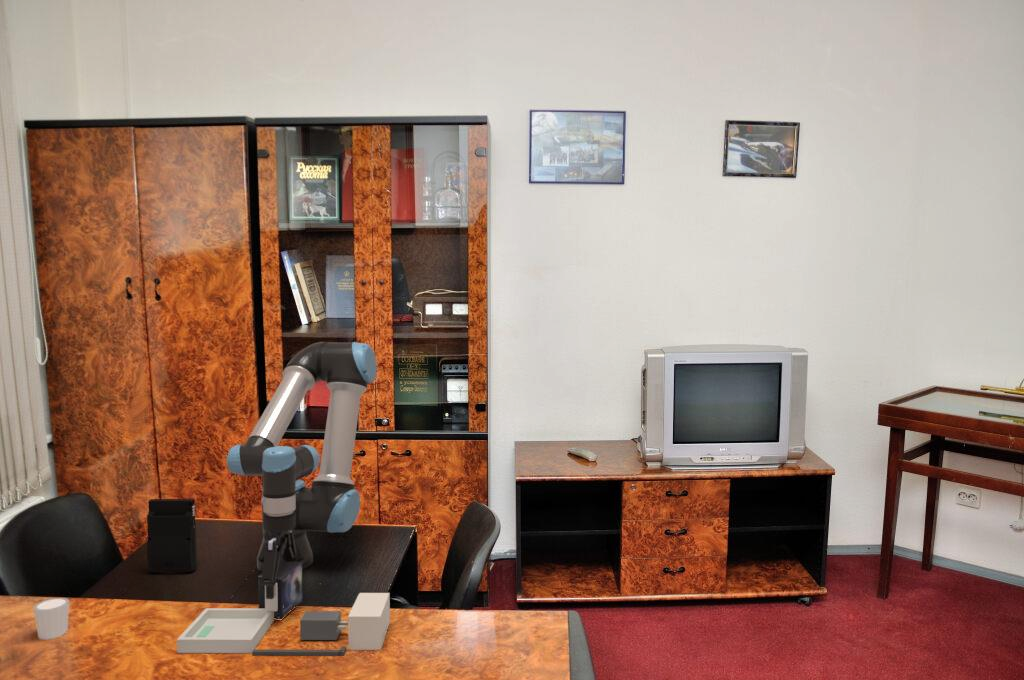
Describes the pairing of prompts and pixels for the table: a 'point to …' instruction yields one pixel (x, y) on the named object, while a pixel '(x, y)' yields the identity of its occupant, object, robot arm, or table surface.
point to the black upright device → (171, 536)
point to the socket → (369, 621)
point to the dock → (225, 631)
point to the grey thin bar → (300, 652)
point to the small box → (285, 588)
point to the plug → (321, 625)
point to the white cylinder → (51, 618)
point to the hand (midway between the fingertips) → (280, 599)
